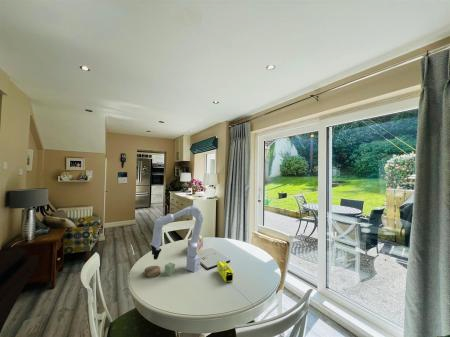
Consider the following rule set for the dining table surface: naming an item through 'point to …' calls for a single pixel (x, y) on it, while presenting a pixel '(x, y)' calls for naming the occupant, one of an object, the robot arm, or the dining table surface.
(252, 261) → the dining table surface
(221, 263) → the yellow toy chassis
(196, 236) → the robot arm
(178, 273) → the dining table surface
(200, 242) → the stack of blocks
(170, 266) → the sage block
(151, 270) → the walnut plinth
